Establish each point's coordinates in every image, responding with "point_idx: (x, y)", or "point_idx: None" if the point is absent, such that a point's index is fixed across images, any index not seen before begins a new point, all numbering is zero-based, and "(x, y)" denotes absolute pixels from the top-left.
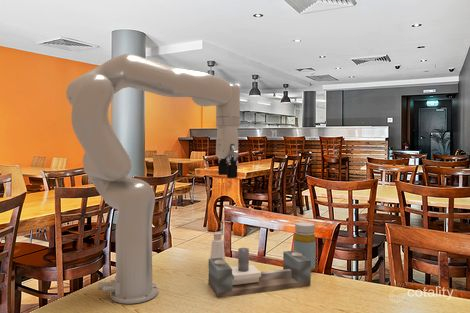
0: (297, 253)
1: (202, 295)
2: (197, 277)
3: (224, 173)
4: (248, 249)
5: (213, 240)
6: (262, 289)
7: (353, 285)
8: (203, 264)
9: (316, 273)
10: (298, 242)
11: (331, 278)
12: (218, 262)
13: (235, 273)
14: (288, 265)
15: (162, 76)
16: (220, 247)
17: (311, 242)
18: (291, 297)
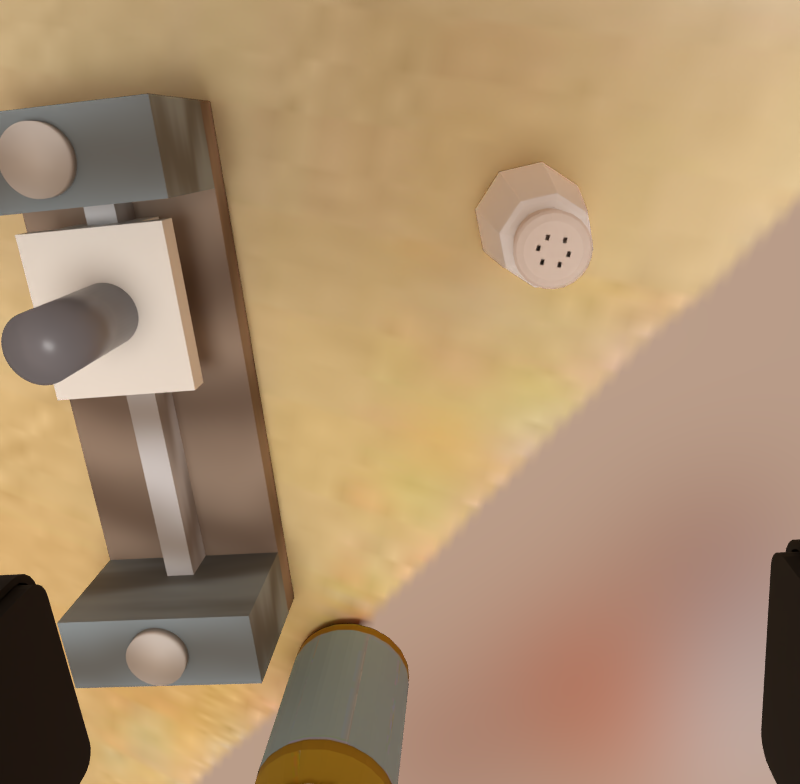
0: (161, 667)
1: (55, 41)
2: (328, 43)
3: (774, 693)
4: (33, 381)
5: (538, 201)
6: None
7: (126, 761)
8: (567, 119)
9: (284, 691)
10: (284, 743)
11: (213, 722)
12: (17, 147)
13: (51, 253)
14: (199, 582)
15: None
16: (497, 249)
17: None
18: (16, 477)
